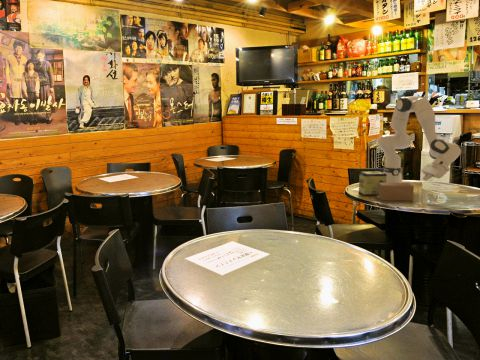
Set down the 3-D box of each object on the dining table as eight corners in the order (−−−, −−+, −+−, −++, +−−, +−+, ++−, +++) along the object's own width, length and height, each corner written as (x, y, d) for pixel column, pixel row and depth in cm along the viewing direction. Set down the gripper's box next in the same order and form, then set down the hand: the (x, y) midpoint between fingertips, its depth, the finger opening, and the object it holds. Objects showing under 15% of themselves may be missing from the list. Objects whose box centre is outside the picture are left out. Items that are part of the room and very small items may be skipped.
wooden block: (409, 183, 282) (378, 182, 284) (414, 185, 272) (382, 185, 274) (408, 197, 284) (377, 197, 286) (412, 201, 274) (381, 200, 276)
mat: (374, 198, 282) (374, 198, 282) (405, 198, 284) (405, 197, 284) (382, 203, 270) (382, 202, 269) (415, 202, 272) (415, 202, 271)
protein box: (358, 193, 299) (359, 171, 296) (379, 192, 301) (380, 171, 298) (363, 196, 289) (364, 173, 286) (385, 196, 290) (387, 173, 288)
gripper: (428, 159, 285) (413, 173, 286) (445, 163, 265) (429, 179, 266) (434, 165, 286) (419, 180, 287) (451, 170, 266) (435, 185, 267)
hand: (424, 179), depth 276 cm, fingers closed
